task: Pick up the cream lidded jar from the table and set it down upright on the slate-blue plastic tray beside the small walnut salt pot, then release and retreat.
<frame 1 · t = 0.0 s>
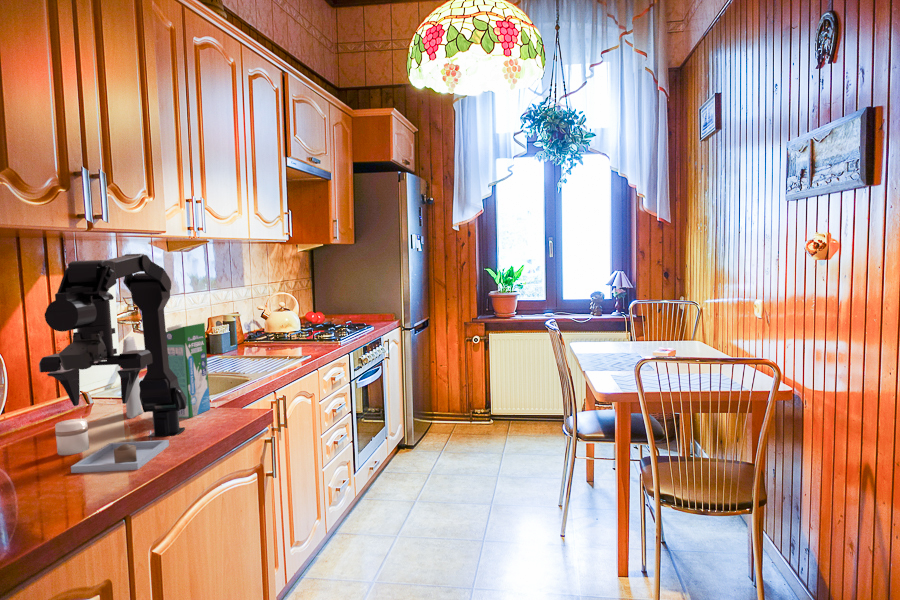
hand: (100, 404, 114), 15 cm above the countertop, fingers open, 9 cm apart
tall pale column: (134, 414, 164), on the countertop
cream lidded jar: (73, 452, 132), on the countertop
milk carton: (186, 414, 163), on the countertop
tray: (123, 460, 125), on the countertop
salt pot: (126, 464, 121), resting on tray
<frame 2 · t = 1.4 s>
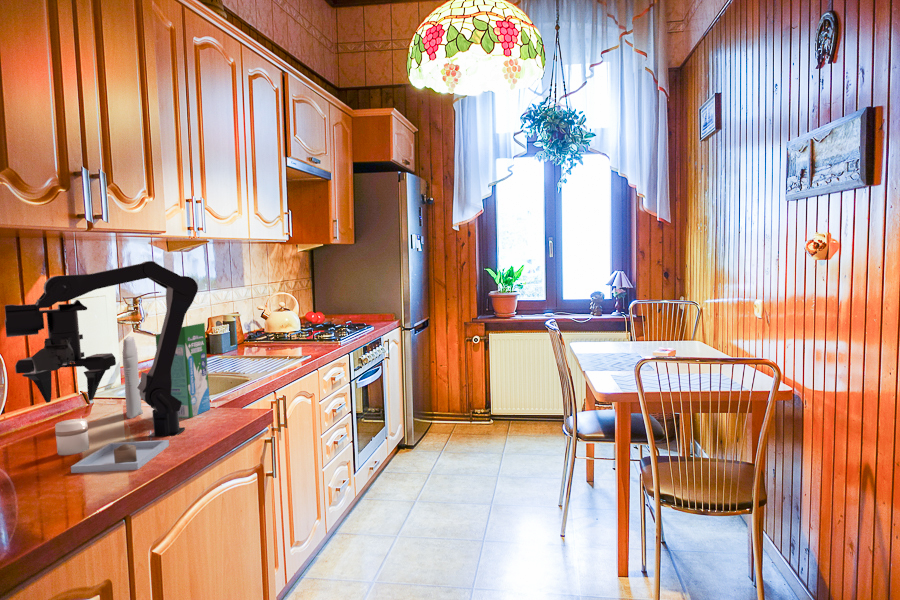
hand: (69, 401, 131), 12 cm above the countertop, fingers open, 9 cm apart
nothing on the countertop moved.
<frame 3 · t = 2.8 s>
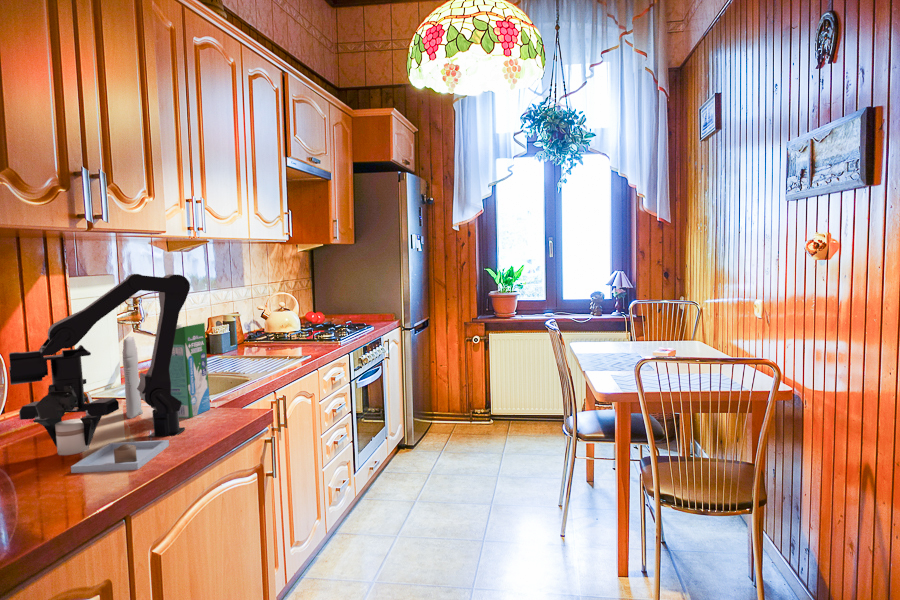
hand: (73, 446, 131), 2 cm above the countertop, fingers closed on cream lidded jar, 6 cm apart
cream lidded jar: (73, 452, 131), on the countertop, touching gripper
everything else where it was.
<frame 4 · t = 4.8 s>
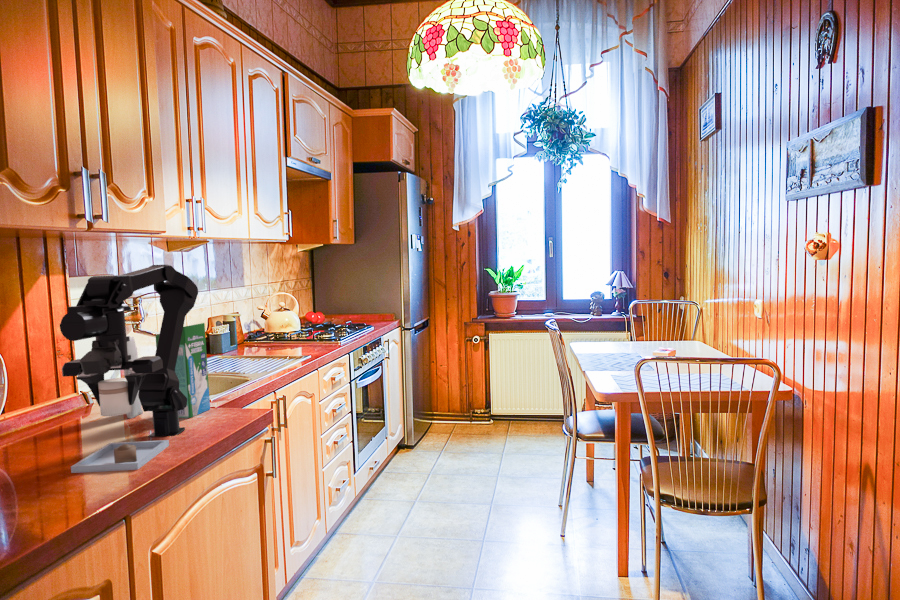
hand: (116, 405, 127), 11 cm above the countertop, fingers closed on cream lidded jar, 6 cm apart
cream lidded jar: (116, 412, 127), point 10 cm above the countertop, touching gripper
everything else where it was.
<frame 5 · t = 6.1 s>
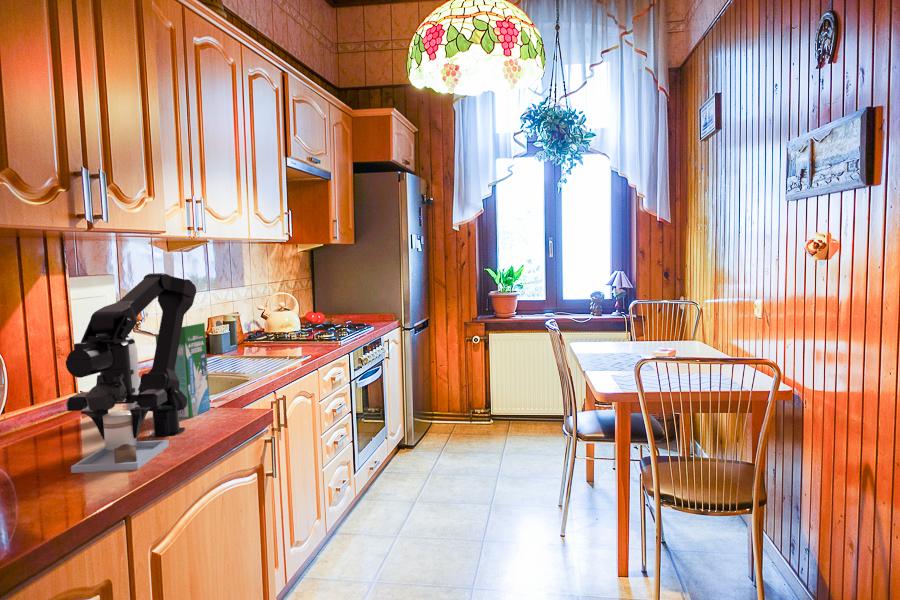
hand: (120, 438, 127), 4 cm above the countertop, fingers closed on cream lidded jar, 6 cm apart
cream lidded jar: (121, 445, 127), point 3 cm above the countertop, touching gripper
everything else where it was.
when the fingers open (3 cm above the countertop, at t = 6.8 s): cream lidded jar stays where it is, resting on tray.
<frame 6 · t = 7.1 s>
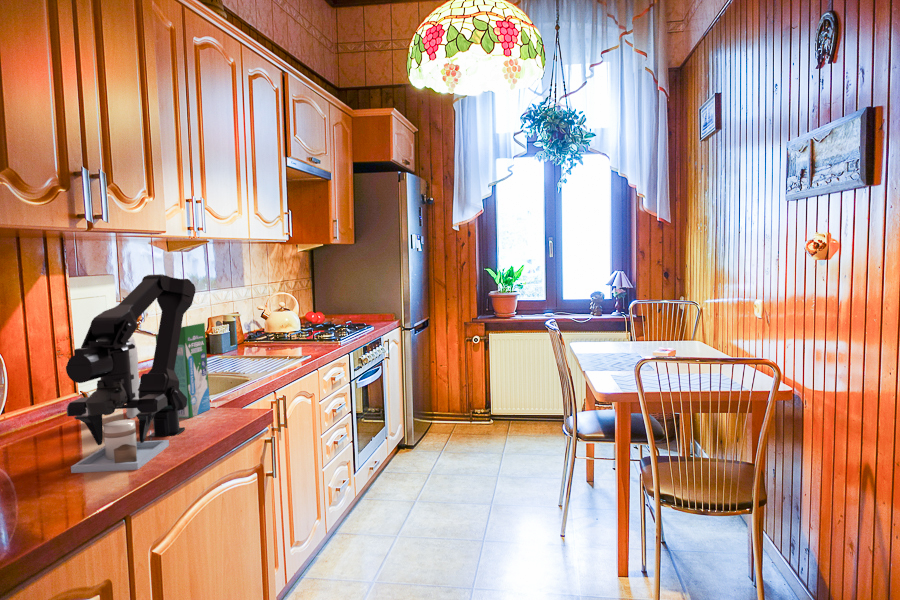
hand: (121, 443, 127), 3 cm above the countertop, fingers open, 9 cm apart
cream lidded jar: (121, 454, 127), point 1 cm above the countertop, touching tray
everything else where it was.
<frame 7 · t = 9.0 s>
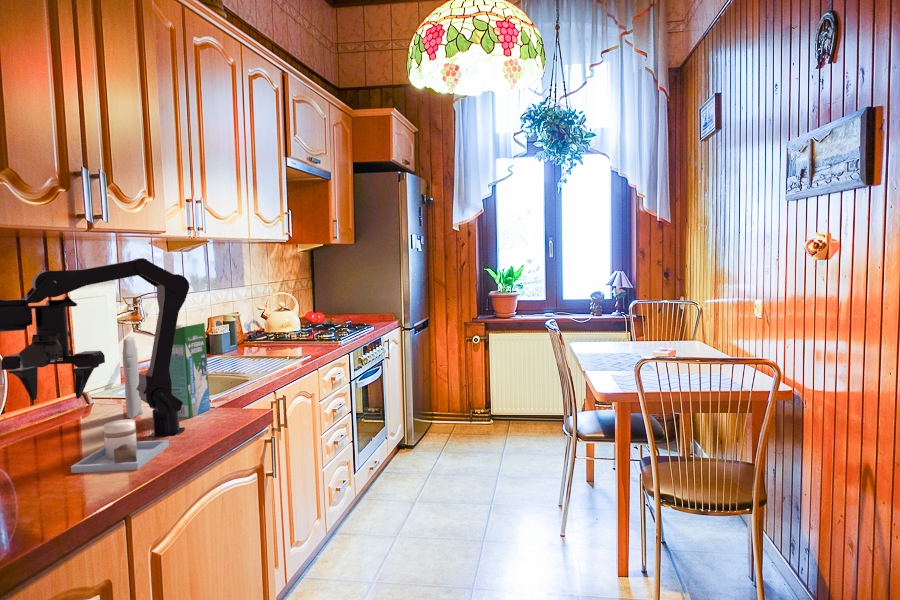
hand: (56, 399, 128), 13 cm above the countertop, fingers open, 9 cm apart
nothing on the countertop moved.
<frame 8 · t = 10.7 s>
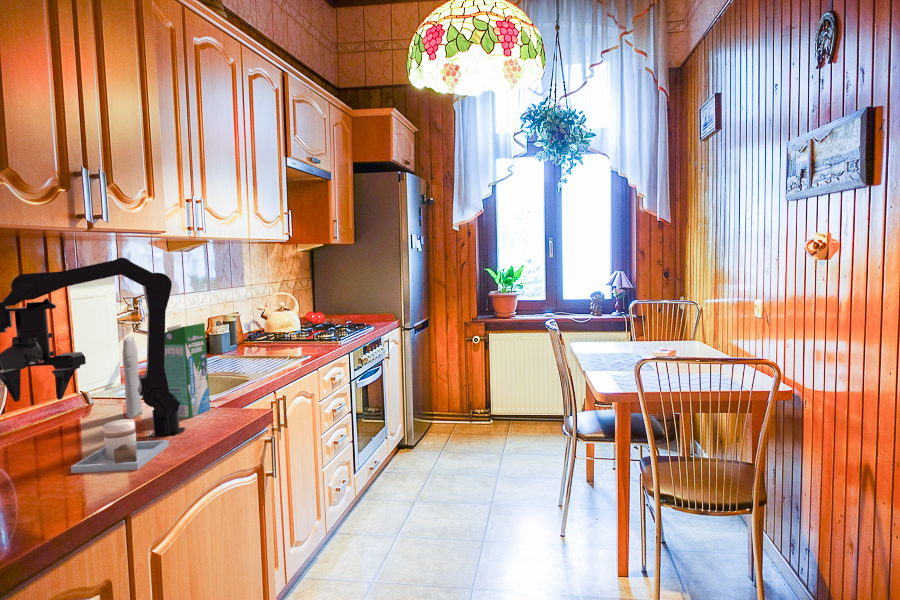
hand: (38, 400, 129), 12 cm above the countertop, fingers open, 9 cm apart
nothing on the countertop moved.
at the end: cream lidded jar inside the target area on the tray (2.8 cm from its centre), point 0.6 cm above the tray's base; cream lidded jar tilted 1°; cream lidded jar touching tray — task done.
